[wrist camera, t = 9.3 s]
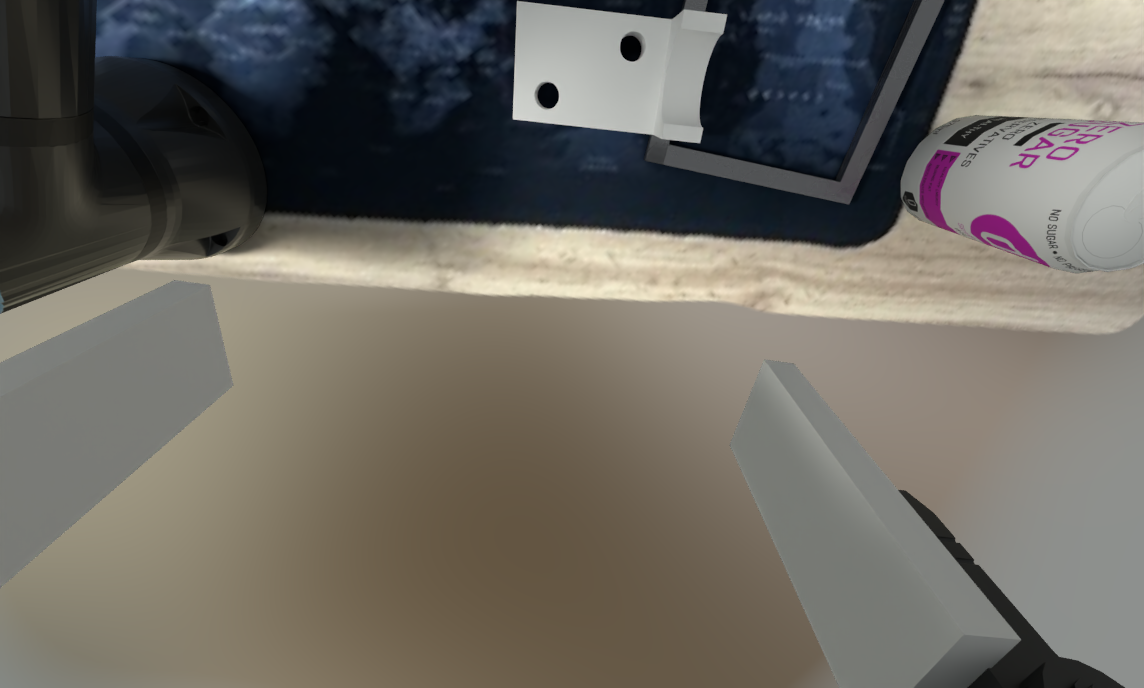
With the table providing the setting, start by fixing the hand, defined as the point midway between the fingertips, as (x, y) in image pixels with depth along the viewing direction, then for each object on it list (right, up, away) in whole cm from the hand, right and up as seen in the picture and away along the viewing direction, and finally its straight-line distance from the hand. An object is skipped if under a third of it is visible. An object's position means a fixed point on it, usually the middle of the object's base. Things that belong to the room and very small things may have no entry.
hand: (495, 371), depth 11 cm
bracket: (+4, +21, +24) cm, 33 cm away
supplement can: (+33, +15, +27) cm, 45 cm away
